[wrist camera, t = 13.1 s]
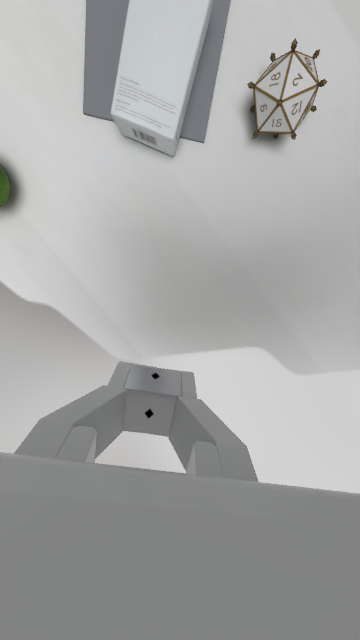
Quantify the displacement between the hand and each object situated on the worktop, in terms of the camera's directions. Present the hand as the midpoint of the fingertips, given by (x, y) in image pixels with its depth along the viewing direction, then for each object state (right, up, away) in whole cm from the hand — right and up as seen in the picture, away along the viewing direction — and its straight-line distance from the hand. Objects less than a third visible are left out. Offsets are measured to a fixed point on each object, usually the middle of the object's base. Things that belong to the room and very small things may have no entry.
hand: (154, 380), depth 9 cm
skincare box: (-4, +26, +20) cm, 33 cm away
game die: (+14, +31, +22) cm, 41 cm away
